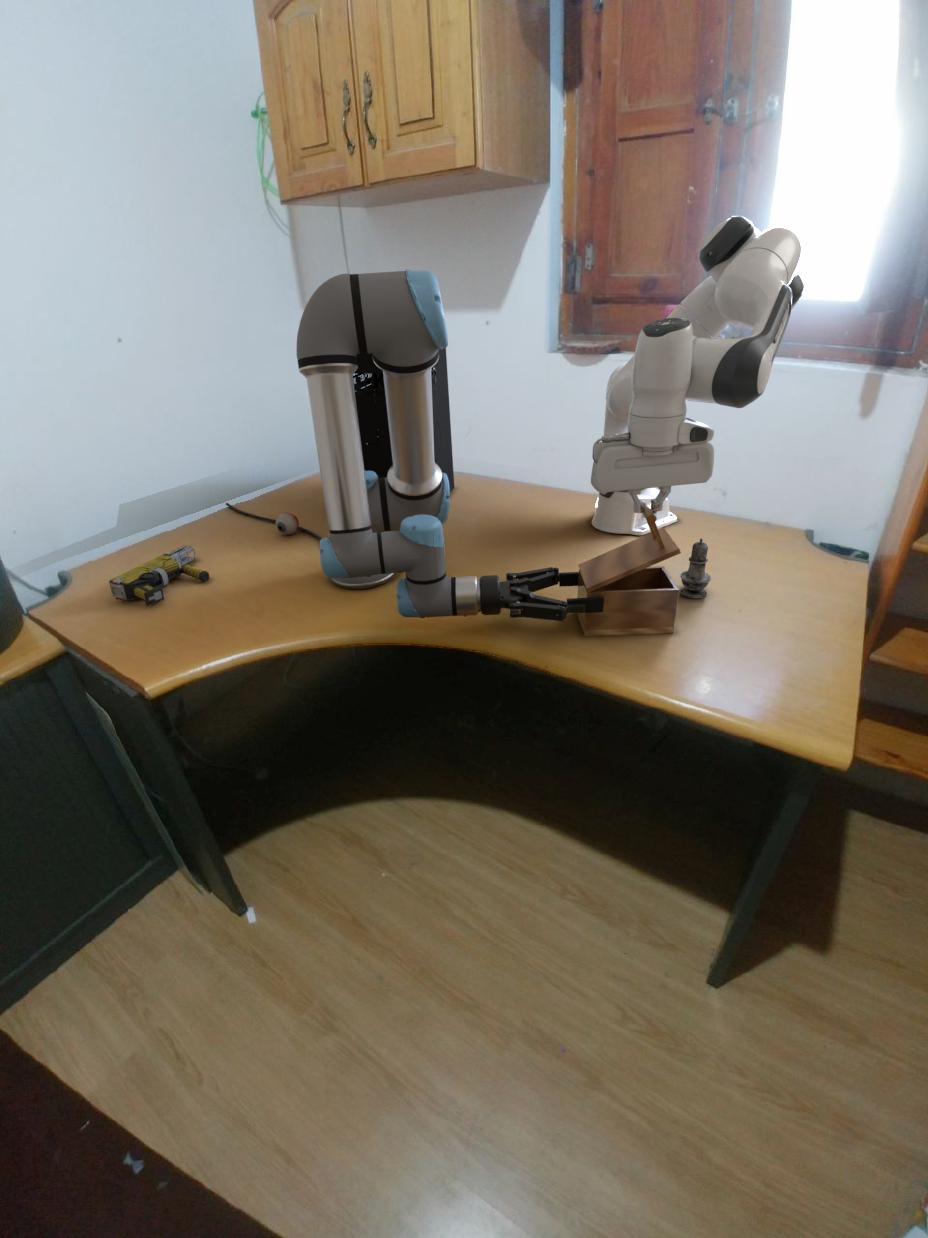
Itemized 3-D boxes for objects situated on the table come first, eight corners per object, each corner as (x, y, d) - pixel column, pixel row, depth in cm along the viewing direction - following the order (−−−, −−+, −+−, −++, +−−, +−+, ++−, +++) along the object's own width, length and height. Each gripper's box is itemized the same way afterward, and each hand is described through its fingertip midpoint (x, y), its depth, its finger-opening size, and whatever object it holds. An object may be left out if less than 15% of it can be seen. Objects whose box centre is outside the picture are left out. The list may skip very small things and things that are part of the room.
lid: (665, 531, 112) (651, 494, 109) (681, 553, 104) (666, 513, 100) (579, 568, 116) (563, 534, 113) (588, 592, 108) (571, 556, 104)
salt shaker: (710, 599, 121) (719, 544, 115) (679, 598, 123) (687, 543, 117) (706, 586, 126) (715, 532, 120) (676, 585, 128) (684, 532, 122)
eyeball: (273, 537, 164) (268, 516, 161) (287, 528, 169) (282, 508, 166) (291, 539, 161) (286, 518, 158) (305, 530, 166) (301, 510, 163)
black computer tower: (420, 531, 161) (403, 349, 139) (350, 528, 166) (322, 351, 143) (454, 487, 193) (445, 332, 170) (394, 486, 197) (377, 335, 175)
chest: (658, 606, 120) (664, 565, 116) (673, 632, 112) (679, 589, 107) (576, 609, 121) (578, 569, 116) (584, 636, 112) (587, 593, 108)
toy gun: (232, 553, 147) (182, 542, 151) (158, 593, 127) (102, 580, 131) (234, 570, 150) (185, 559, 154) (162, 613, 130) (107, 599, 134)
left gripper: (479, 586, 126) (586, 581, 125) (480, 644, 106) (608, 639, 105) (478, 553, 122) (588, 548, 121) (479, 607, 102) (611, 602, 102)
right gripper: (599, 440, 95) (594, 523, 102) (724, 429, 96) (711, 511, 103) (587, 431, 100) (584, 510, 107) (705, 420, 102) (694, 499, 109)
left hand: (597, 590), depth 113 cm, fingers closed on chest, 10 cm apart
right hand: (647, 511), depth 105 cm, fingers closed on lid, 2 cm apart
